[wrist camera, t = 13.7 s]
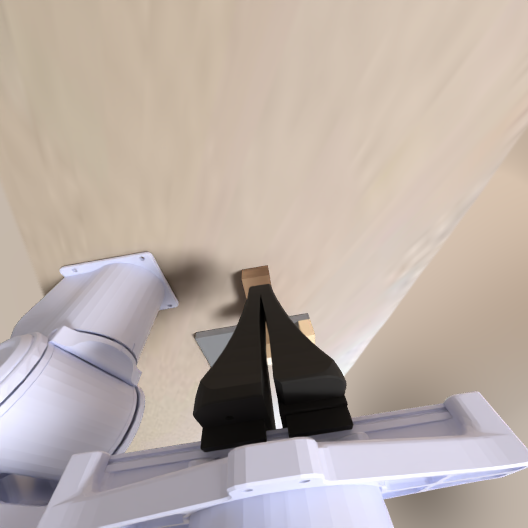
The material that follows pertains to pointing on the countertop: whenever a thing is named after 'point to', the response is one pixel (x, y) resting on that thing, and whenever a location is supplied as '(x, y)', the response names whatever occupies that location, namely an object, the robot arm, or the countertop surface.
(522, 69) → the countertop surface
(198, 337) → the board
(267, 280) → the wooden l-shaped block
